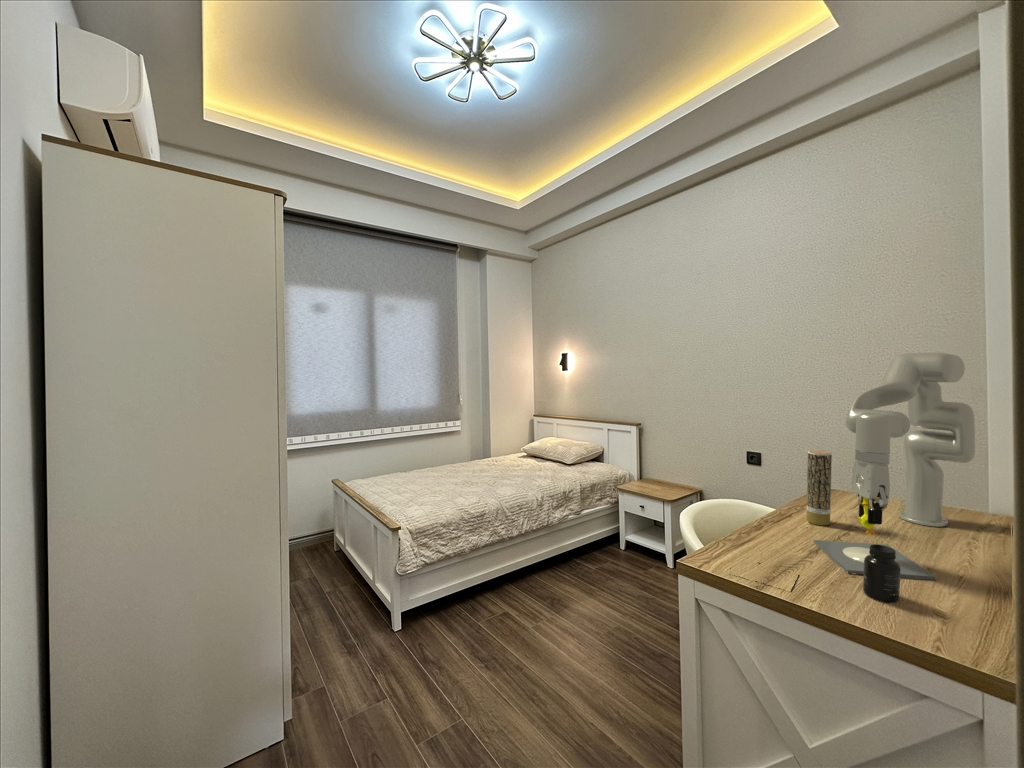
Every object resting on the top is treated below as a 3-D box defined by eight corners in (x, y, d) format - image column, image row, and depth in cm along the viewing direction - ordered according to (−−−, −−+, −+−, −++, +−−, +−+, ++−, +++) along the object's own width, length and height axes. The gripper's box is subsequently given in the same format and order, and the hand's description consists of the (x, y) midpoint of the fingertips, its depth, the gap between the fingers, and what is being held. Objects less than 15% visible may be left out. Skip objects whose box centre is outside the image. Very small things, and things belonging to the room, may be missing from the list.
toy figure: (886, 534, 125) (887, 492, 125) (886, 538, 122) (886, 494, 122) (856, 529, 129) (856, 488, 129) (855, 532, 126) (855, 490, 126)
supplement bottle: (855, 589, 111) (857, 543, 110) (880, 588, 111) (882, 541, 111) (880, 605, 104) (882, 555, 103) (907, 603, 105) (909, 553, 104)
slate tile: (813, 543, 138) (813, 539, 138) (887, 547, 134) (887, 543, 134) (847, 573, 119) (847, 569, 119) (935, 580, 115) (935, 575, 115)
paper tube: (833, 526, 151) (835, 454, 150) (811, 525, 152) (813, 453, 151) (824, 519, 158) (825, 450, 156) (802, 518, 159) (804, 449, 158)
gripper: (841, 450, 134) (840, 510, 135) (874, 463, 118) (871, 531, 119) (870, 451, 132) (868, 511, 133) (907, 464, 116) (904, 533, 117)
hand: (870, 520), depth 126 cm, fingers closed on toy figure, 3 cm apart
